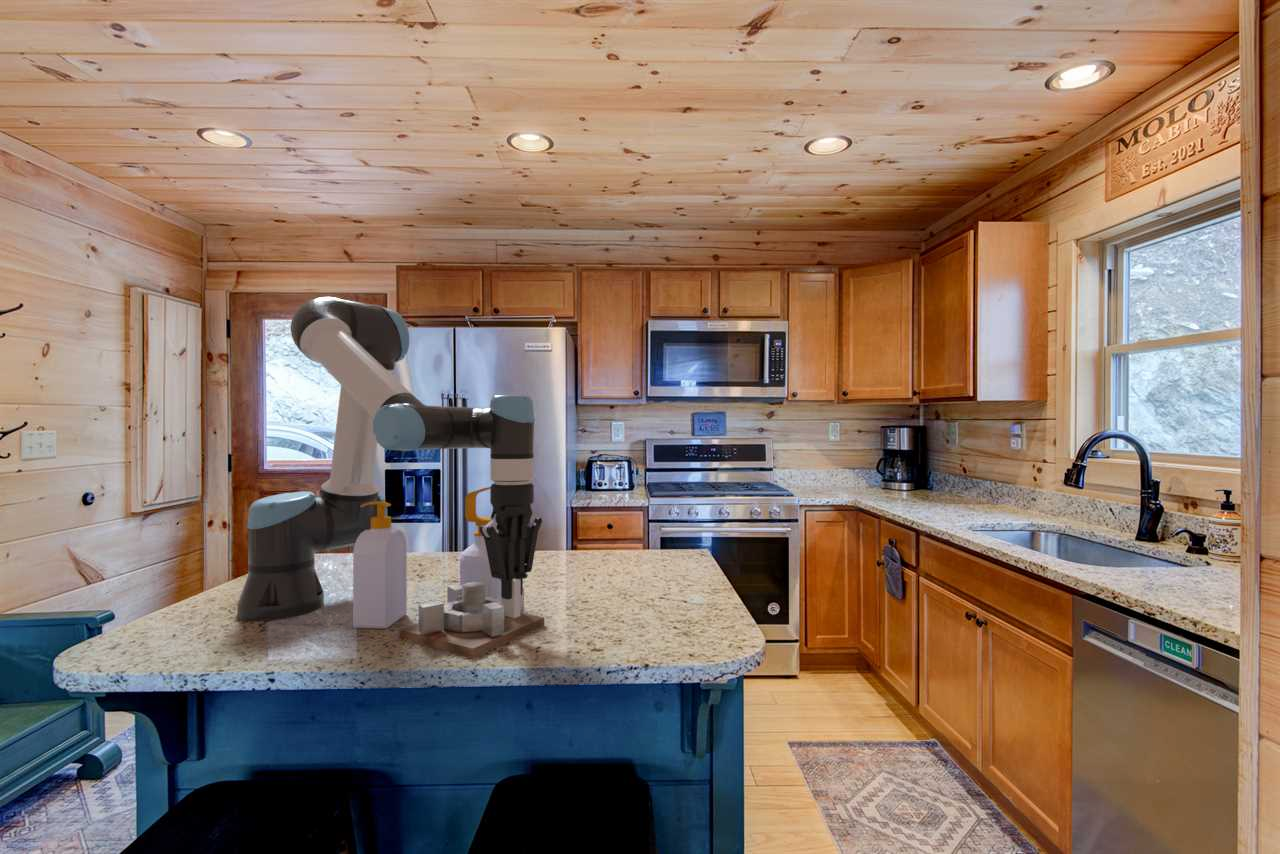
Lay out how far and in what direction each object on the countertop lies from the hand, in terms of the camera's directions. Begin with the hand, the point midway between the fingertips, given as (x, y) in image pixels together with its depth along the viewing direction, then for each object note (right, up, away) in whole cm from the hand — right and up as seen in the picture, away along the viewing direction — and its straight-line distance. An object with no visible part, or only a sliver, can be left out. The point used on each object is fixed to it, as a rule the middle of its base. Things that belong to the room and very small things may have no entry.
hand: (512, 615), depth 103 cm
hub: (-8, -4, +3) cm, 9 cm away
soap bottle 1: (-27, -4, +9) cm, 29 cm away
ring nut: (-8, -2, +3) cm, 8 cm away
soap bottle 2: (-11, -4, +21) cm, 24 cm away
